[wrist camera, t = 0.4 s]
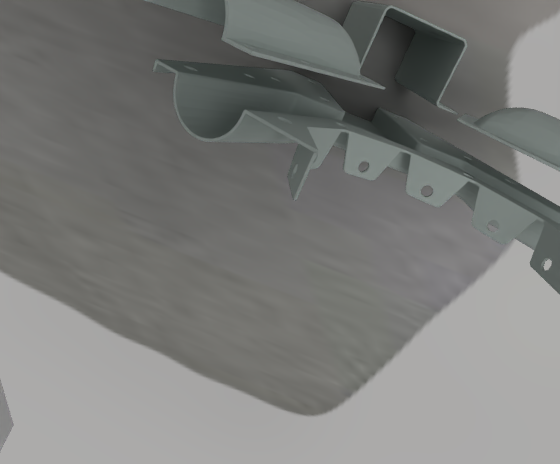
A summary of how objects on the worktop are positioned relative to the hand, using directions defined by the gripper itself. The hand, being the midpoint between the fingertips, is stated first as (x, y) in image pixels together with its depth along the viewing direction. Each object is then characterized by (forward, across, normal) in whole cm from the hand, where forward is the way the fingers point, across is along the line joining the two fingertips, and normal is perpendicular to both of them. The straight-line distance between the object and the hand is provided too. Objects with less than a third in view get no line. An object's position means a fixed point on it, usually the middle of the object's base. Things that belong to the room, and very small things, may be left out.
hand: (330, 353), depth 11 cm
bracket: (+27, +6, +2) cm, 27 cm away
